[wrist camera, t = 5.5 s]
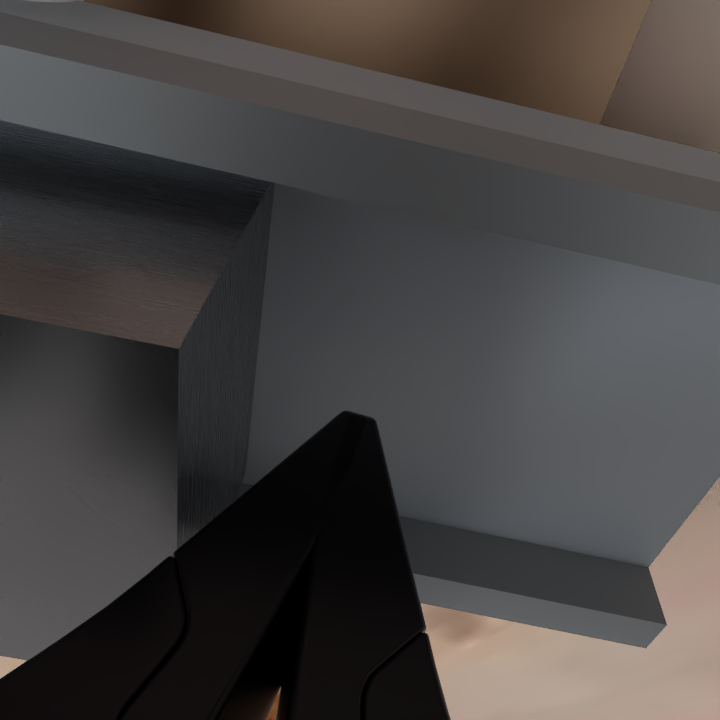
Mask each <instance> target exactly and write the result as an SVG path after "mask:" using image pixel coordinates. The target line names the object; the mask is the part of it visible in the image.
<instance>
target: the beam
mask: <svg viewBox="0 0 720 720" xmlns="http://www.w3.org/2000/svg"><path fill="white" fill-rule="evenodd" d="M0 120H2V121H6V122H10V123H15V124H19V125H23V126H28V127H32V128H37V129H41V130H45V131H50V132H54V133H58V134H63V135H67V136H72V137H76V138H80V139H85V140H89V141H93V142H98V143H102V144H106V145H111V146H115V147H120V148H124V149H128V150H133V151H137V152H141V153H146V154H150V155H155V156H159V157H163V158H168V159H172V160H176V161H181V162H185V163H190V164H194V165H198V166H203V167H207V168H211V169H216V170H220V171H225V172H229V173H233V174H238V175H242V176H246V177H251V178H255V179H259V180H264V181H268V182H273V183H275V186H274V196H273V206H272V216H271V226H270V236H269V246H268V256H267V266H266V276H265V286H264V296H263V306H262V316H261V326H260V336H259V346H258V356H257V365H256V375H255V385H254V395H253V405H252V415H251V425H250V435H249V445H248V455H247V465H246V470H245V473H244V477H243V480H242V483H241V486H240V489H239V492H238V495H237V498H236V500H237V499H238V498H239V497H240V496H241V495H242V494H244V493H245V492H246V491H247V490H248V489H250V488H251V487H252V486H253V485H254V484H256V483H257V482H258V481H259V480H260V479H262V478H263V477H264V476H265V475H266V474H268V473H269V472H270V471H271V470H272V469H273V468H275V467H276V466H277V465H278V464H279V463H281V462H282V461H283V460H284V459H285V458H287V457H288V456H289V455H290V454H291V453H293V452H294V451H295V450H296V449H297V448H299V447H300V446H301V445H302V444H303V443H305V442H306V441H307V440H308V439H309V438H310V437H312V436H313V435H314V434H315V433H316V432H318V431H319V430H320V429H321V428H322V427H324V426H325V425H326V424H327V423H328V422H330V421H331V420H332V419H333V418H334V417H336V416H337V415H338V414H339V413H341V412H342V411H345V410H347V411H351V412H355V413H358V414H362V415H365V416H369V417H372V418H374V419H375V420H376V422H377V425H378V429H379V433H380V437H381V441H382V446H383V450H384V454H385V458H386V462H387V466H388V471H389V475H390V479H391V483H392V487H393V492H394V496H395V500H396V504H397V508H398V512H399V517H400V521H401V525H402V529H403V533H404V537H405V542H406V546H407V550H408V554H409V558H410V563H411V567H412V571H413V575H414V579H415V583H416V588H417V592H418V596H419V600H420V603H424V604H429V605H434V606H439V607H444V608H449V609H454V610H459V611H464V612H469V613H473V614H478V615H483V616H488V617H493V618H498V619H503V620H508V621H513V622H518V623H523V624H528V625H533V626H538V627H543V628H548V629H553V630H558V631H563V632H568V633H573V634H578V635H583V636H588V637H593V638H598V639H603V640H608V641H613V642H618V643H623V644H628V645H633V646H638V647H643V648H646V647H647V646H648V645H649V644H650V643H651V642H652V641H653V640H654V639H655V637H656V636H657V635H658V634H659V633H660V632H661V631H662V630H663V628H664V627H665V626H666V625H667V624H666V621H665V618H664V615H663V612H662V608H661V605H660V602H659V599H658V596H657V593H656V590H655V587H654V584H653V580H652V577H651V574H650V571H649V568H648V567H649V566H650V565H651V563H652V562H653V561H654V559H655V558H656V557H657V556H658V554H659V553H660V552H661V551H662V549H663V548H664V547H665V545H666V544H667V543H668V542H669V540H670V539H671V538H672V537H673V535H674V534H675V533H676V531H677V530H678V529H679V528H680V526H681V525H682V524H683V522H684V521H685V520H686V519H687V517H688V516H689V515H690V514H691V512H692V511H693V510H694V508H695V507H696V506H697V505H698V503H699V502H700V501H701V500H702V498H703V497H704V496H705V494H706V493H707V492H708V491H709V489H710V488H711V487H712V486H713V484H714V483H715V482H716V480H717V479H718V478H719V477H720V153H717V152H713V151H709V150H704V149H700V148H696V147H692V146H688V145H683V144H679V143H675V142H671V141H667V140H663V139H658V138H654V137H650V136H646V135H642V134H637V133H633V132H629V131H625V130H621V129H616V128H612V127H608V126H604V125H600V124H595V123H591V122H587V121H583V120H579V119H574V118H570V117H566V116H562V115H558V114H553V113H549V112H545V111H541V110H537V109H532V108H528V107H524V106H520V105H516V104H511V103H507V102H503V101H499V100H495V99H491V98H486V97H482V96H478V95H474V94H470V93H465V92H461V91H457V90H453V89H449V88H444V87H440V86H436V85H432V84H428V83H423V82H419V81H415V80H411V79H407V78H402V77H398V76H394V75H390V74H386V73H381V72H377V71H373V70H369V69H365V68H360V67H356V66H352V65H348V64H344V63H340V62H335V61H331V60H327V59H323V58H319V57H314V56H310V55H306V54H302V53H298V52H293V51H289V50H285V49H281V48H277V47H272V46H268V45H264V44H260V43H256V42H251V41H247V40H243V39H239V38H235V37H230V36H226V35H222V34H218V33H214V32H209V31H205V30H201V29H197V28H193V27H189V26H184V25H180V24H176V23H172V22H168V21H163V20H159V19H155V18H151V17H147V16H142V15H138V14H134V13H130V12H126V11H121V10H117V9H113V8H109V7H105V6H100V5H96V4H92V3H88V2H84V0H0Z"/></svg>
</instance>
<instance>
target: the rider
mask: <svg viewBox="0 0 720 720" xmlns="http://www.w3.org/2000/svg"><path fill="white" fill-rule="evenodd" d="M274 186H275V183H273V182H268V181H264V180H259V179H255V178H251V177H246V176H242V175H238V174H233V173H229V172H225V171H220V170H216V169H211V168H207V167H203V166H198V165H194V164H190V163H185V162H181V161H176V160H172V159H168V158H163V157H159V156H155V155H150V154H146V153H141V152H137V151H133V150H128V149H124V148H120V147H115V146H111V145H106V144H102V143H98V142H93V141H89V140H85V139H80V138H76V137H72V136H67V135H63V134H58V133H54V132H50V131H45V130H41V129H37V128H32V127H28V126H23V125H19V124H15V123H10V122H6V121H2V120H0V656H6V657H11V658H17V659H23V660H29V659H31V658H32V657H34V656H35V655H37V654H38V653H40V652H41V651H43V650H44V649H46V648H47V647H49V646H50V645H52V644H53V643H55V642H56V641H58V640H59V639H61V638H62V637H63V636H65V635H66V634H68V633H69V632H71V631H72V630H73V629H75V628H76V627H78V626H79V625H81V624H82V623H83V622H85V621H86V620H88V619H89V618H91V617H92V616H93V615H95V614H96V613H98V612H99V611H101V610H102V609H103V608H105V607H106V606H107V605H109V604H110V603H111V602H113V601H114V600H115V599H116V598H118V597H119V596H120V595H121V594H123V593H124V592H125V591H127V590H128V589H129V588H130V587H132V586H133V585H134V584H135V583H137V582H138V581H139V580H140V579H142V578H143V577H144V576H145V575H147V574H148V573H149V572H150V571H151V570H153V569H154V568H155V567H156V566H157V565H159V564H160V563H161V562H162V561H163V560H164V559H166V558H167V557H168V556H172V557H173V553H174V552H175V551H176V550H177V549H178V548H179V547H180V546H182V545H183V544H184V543H185V542H186V541H188V540H189V539H190V538H191V537H192V536H194V535H195V534H196V533H197V532H198V531H200V530H201V529H202V528H203V527H204V526H205V525H207V524H208V523H209V522H210V521H211V520H213V519H214V518H215V517H216V516H217V515H219V514H220V513H221V512H222V511H223V510H225V509H226V508H227V507H228V506H229V505H231V504H232V503H233V502H234V501H235V500H236V498H237V495H238V492H239V489H240V486H241V483H242V480H243V477H244V473H245V470H246V465H247V455H248V445H249V435H250V425H251V415H252V405H253V395H254V385H255V375H256V365H257V356H258V346H259V336H260V326H261V316H262V306H263V296H264V286H265V276H266V266H267V256H268V246H269V236H270V226H271V216H272V206H273V196H274Z"/></svg>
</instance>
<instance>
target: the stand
mask: <svg viewBox="0 0 720 720" xmlns="http://www.w3.org/2000/svg"><path fill="white" fill-rule="evenodd" d="M84 2H88V3H92V4H96V5H100V6H105V7H109V8H113V9H117V10H121V11H126V12H130V13H134V14H138V15H142V16H147V17H151V18H155V19H159V20H163V21H168V22H172V23H176V24H180V25H184V26H189V27H193V28H197V29H201V30H205V31H209V32H214V33H218V34H222V35H226V36H230V37H235V38H239V39H243V40H247V41H251V42H256V43H260V44H264V45H268V46H272V47H277V48H281V49H285V50H289V51H293V52H298V53H302V54H306V55H310V56H314V57H319V58H323V59H327V60H331V61H335V62H340V63H344V64H348V65H352V66H356V67H360V68H365V69H369V70H373V71H377V72H381V73H386V74H390V75H394V76H398V77H402V78H407V79H411V80H415V81H419V82H423V83H428V84H432V85H436V86H440V87H444V88H449V89H453V90H457V91H461V92H465V93H470V94H474V95H478V96H482V97H486V98H491V99H495V100H499V101H503V102H507V103H511V104H516V105H520V106H524V107H528V108H532V109H537V110H541V111H545V112H549V113H553V114H558V115H562V116H566V117H570V118H574V119H579V120H583V121H587V122H591V123H595V124H600V122H601V120H602V117H603V115H604V113H605V110H606V108H607V106H608V103H609V101H610V98H611V96H612V94H613V91H614V89H615V86H616V84H617V82H618V79H619V77H620V74H621V72H622V70H623V67H624V65H625V63H626V60H627V58H628V55H629V53H630V51H631V48H632V46H633V43H634V41H635V39H636V36H637V34H638V31H639V29H640V27H641V24H642V22H643V20H644V17H645V15H646V12H647V10H648V8H649V5H650V3H651V0H84Z"/></svg>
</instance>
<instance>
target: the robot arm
mask: <svg viewBox="0 0 720 720" xmlns="http://www.w3.org/2000/svg"><path fill="white" fill-rule="evenodd" d="M425 631H426V625H425V621H424V617H423V613H422V608H421V604H420V600H419V596H418V592H417V588H416V583H415V579H414V575H413V571H412V567H411V563H410V558H409V554H408V550H407V546H406V542H405V537H404V533H403V529H402V525H401V521H400V517H399V512H398V508H397V504H396V500H395V496H394V492H393V487H392V483H391V479H390V475H389V471H388V466H387V462H386V458H385V454H384V450H383V446H382V441H381V437H380V433H379V429H378V425H377V422H376V420H375V419H374V418H372V417H369V416H365V415H362V414H358V413H355V412H351V411H347V410H345V411H342V412H341V413H339V414H338V415H337V416H336V417H334V418H333V419H332V420H331V421H330V422H328V423H327V424H326V425H325V426H324V427H322V428H321V429H320V430H319V431H318V432H316V433H315V434H314V435H313V436H312V437H310V438H309V439H308V440H307V441H306V442H305V443H303V444H302V445H301V446H300V447H299V448H297V449H296V450H295V451H294V452H293V453H291V454H290V455H289V456H288V457H287V458H285V459H284V460H283V461H282V462H281V463H279V464H278V465H277V466H276V467H275V468H273V469H272V470H271V471H270V472H269V473H268V474H266V475H265V476H264V477H263V478H262V479H260V480H259V481H258V482H257V483H256V484H254V485H253V486H252V487H251V488H250V489H248V490H247V491H246V492H245V493H244V494H242V495H241V496H240V497H239V498H238V499H237V500H235V501H234V502H233V503H232V504H231V505H229V506H228V507H227V508H226V509H225V510H223V511H222V512H221V513H220V514H219V515H217V516H216V517H215V518H214V519H213V520H211V521H210V522H209V523H208V524H207V525H205V526H204V527H203V528H202V529H201V530H200V531H198V532H197V533H196V534H195V535H194V536H192V537H191V538H190V539H189V540H188V541H186V542H185V543H184V544H183V545H182V546H180V547H179V548H178V549H177V550H176V551H175V552H174V553H173V557H172V556H168V557H167V558H166V559H164V560H163V561H162V562H161V563H160V564H159V565H157V566H156V567H155V568H154V569H153V570H151V571H150V572H149V573H148V574H147V575H145V576H144V577H143V578H142V579H140V580H139V581H138V582H137V583H135V584H134V585H133V586H132V587H130V588H129V589H128V590H127V591H125V592H124V593H123V594H121V595H120V596H119V597H118V598H116V599H115V600H114V601H113V602H111V603H110V604H109V605H107V606H106V607H105V608H103V609H102V610H101V611H99V612H98V613H96V614H95V615H93V616H92V617H91V618H89V619H88V620H86V621H85V622H83V623H82V624H81V625H79V626H78V627H76V628H75V629H73V630H72V631H71V632H69V633H68V634H66V635H65V636H63V637H62V638H61V639H59V640H58V641H56V642H55V643H53V644H52V645H50V646H49V647H47V648H46V649H44V650H43V651H41V652H40V653H38V654H37V655H35V656H34V657H32V658H31V659H29V660H28V661H26V662H25V663H23V664H22V665H20V666H19V667H17V668H16V669H14V670H13V671H11V672H10V673H8V674H7V675H5V676H4V677H2V678H1V679H0V720H267V718H268V715H269V713H270V711H271V708H272V706H273V704H274V701H275V699H276V697H277V694H278V692H279V690H280V695H279V700H278V706H277V712H276V717H275V720H451V719H450V716H449V713H448V709H447V706H446V702H445V698H444V695H443V691H442V687H441V684H440V680H439V677H438V673H437V669H436V666H435V661H434V657H433V653H432V649H431V645H430V641H429V636H428V635H427V634H426V633H425ZM280 687H281V689H280Z"/></svg>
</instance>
